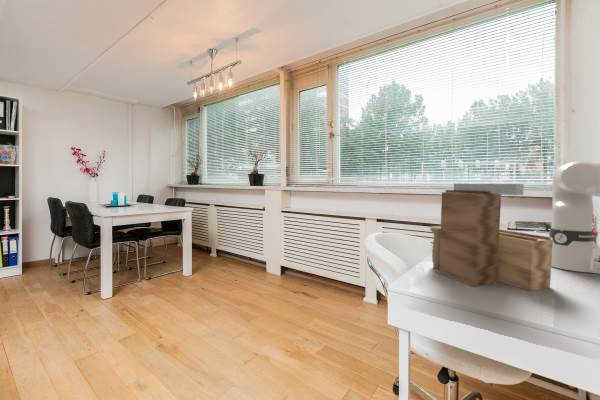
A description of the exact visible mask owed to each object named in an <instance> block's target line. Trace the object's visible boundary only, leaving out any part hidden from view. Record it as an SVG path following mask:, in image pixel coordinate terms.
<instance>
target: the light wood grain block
mask: <svg viewBox="0 0 600 400" xmlns="http://www.w3.org/2000/svg"><path fill="white" fill-rule="evenodd" d="M552 245H553V240H552V239H551V237H550V236H546V235H540V234H532V233H525V232H519V231H513V230H507V229H500V228H499V248H498V268H497V282H501V283H505V284H508V285H510V286H512V287H515V288H516V287H517V288H520V289H521V290H525V291H529V292H532V291H537V290H541V289H547V288H548V289H549V288H551V275H552V274H551V273H552V266H551V262H552Z"/></svg>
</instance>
